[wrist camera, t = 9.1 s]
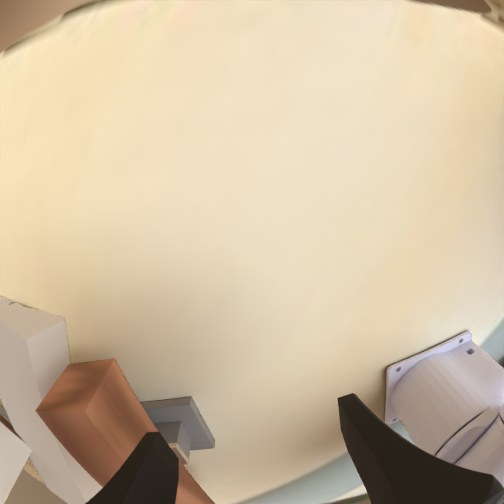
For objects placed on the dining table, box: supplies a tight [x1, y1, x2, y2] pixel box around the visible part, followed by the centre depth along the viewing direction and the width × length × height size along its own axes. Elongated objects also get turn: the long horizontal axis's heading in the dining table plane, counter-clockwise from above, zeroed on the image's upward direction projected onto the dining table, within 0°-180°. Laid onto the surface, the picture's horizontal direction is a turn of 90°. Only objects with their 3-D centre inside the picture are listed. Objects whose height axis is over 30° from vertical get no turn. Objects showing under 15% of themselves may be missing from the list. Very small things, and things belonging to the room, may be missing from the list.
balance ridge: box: [140, 397, 215, 464], centre depth 21 cm, size 8×6×4 cm
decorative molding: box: [0, 296, 103, 504], centre depth 23 cm, size 34×5×10 cm
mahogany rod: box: [35, 359, 215, 504], centre depth 16 cm, size 4×20×5 cm, turn 14°
